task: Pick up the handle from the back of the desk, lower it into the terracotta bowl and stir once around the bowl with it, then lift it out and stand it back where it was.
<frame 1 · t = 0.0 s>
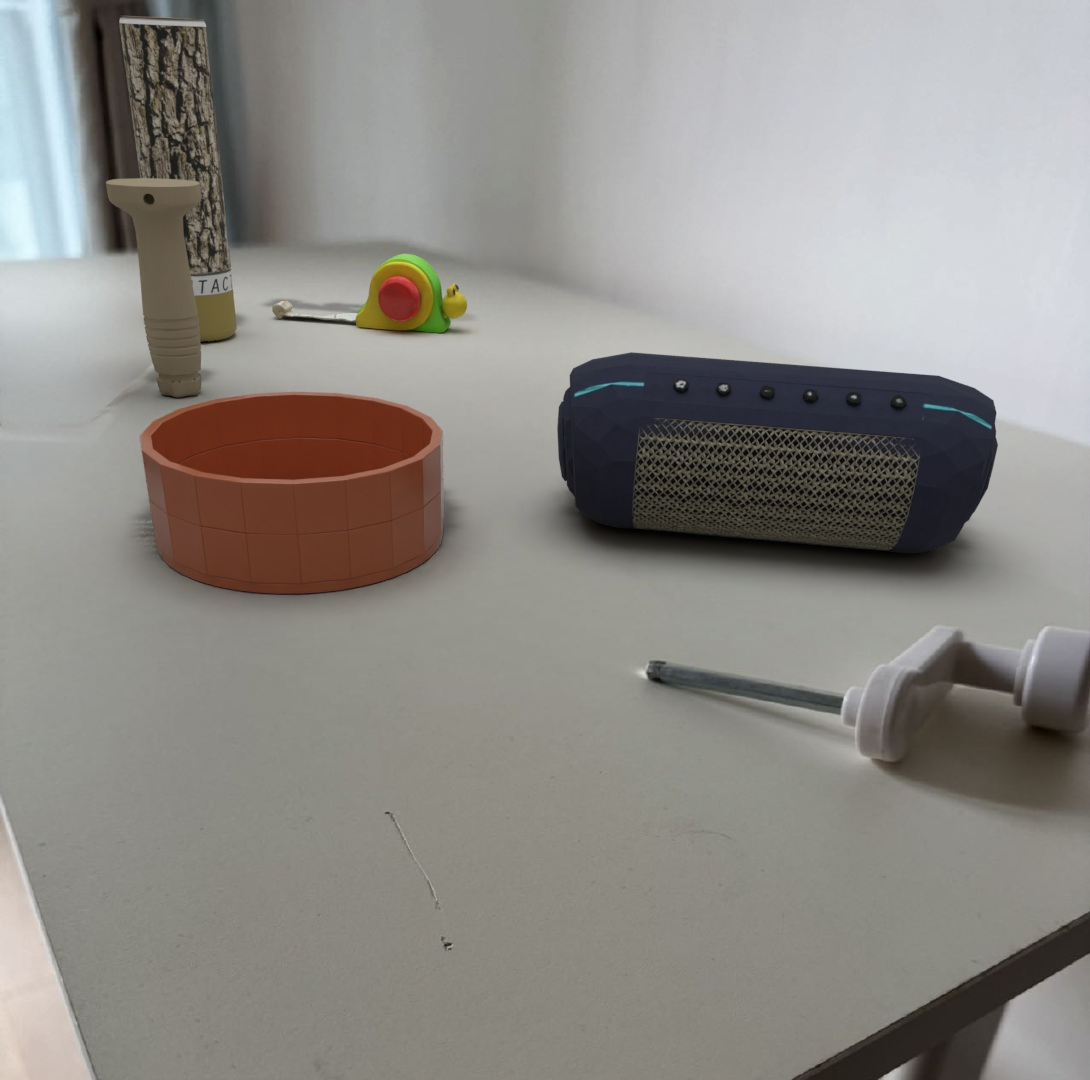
portable speaker: (757, 537, 68), on the table
toy measuring tape: (370, 326, 111), on the table
handle: (181, 395, 89), on the table
bowl: (302, 534, 65), on the table
paper tube: (200, 337, 105), on the table
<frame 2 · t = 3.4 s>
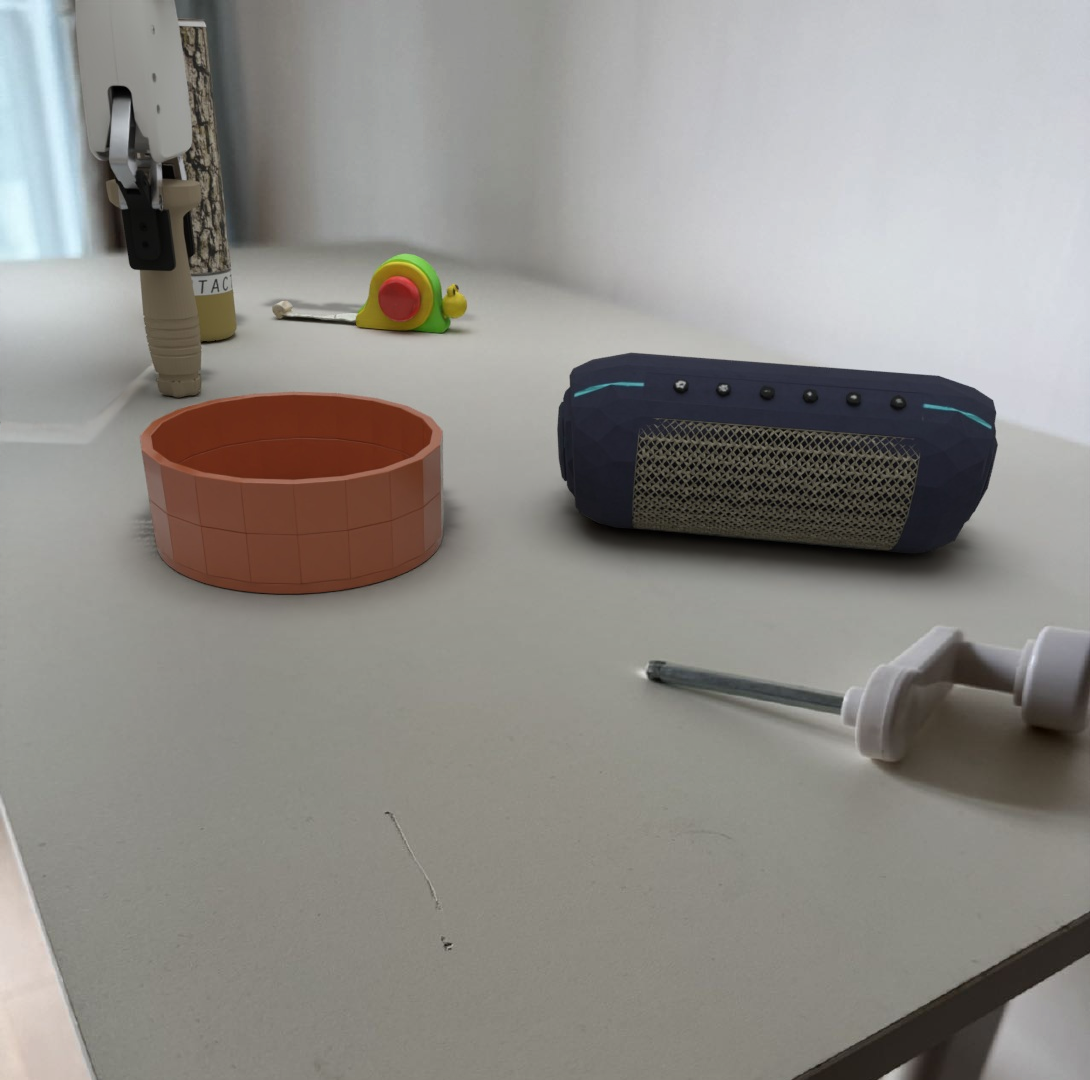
hand: (163, 259, 83), 10 cm above the table, tool pointing down, fingers closed on handle, 4 cm apart
handle: (181, 395, 89), on the table, touching gripper
everything else where it was.
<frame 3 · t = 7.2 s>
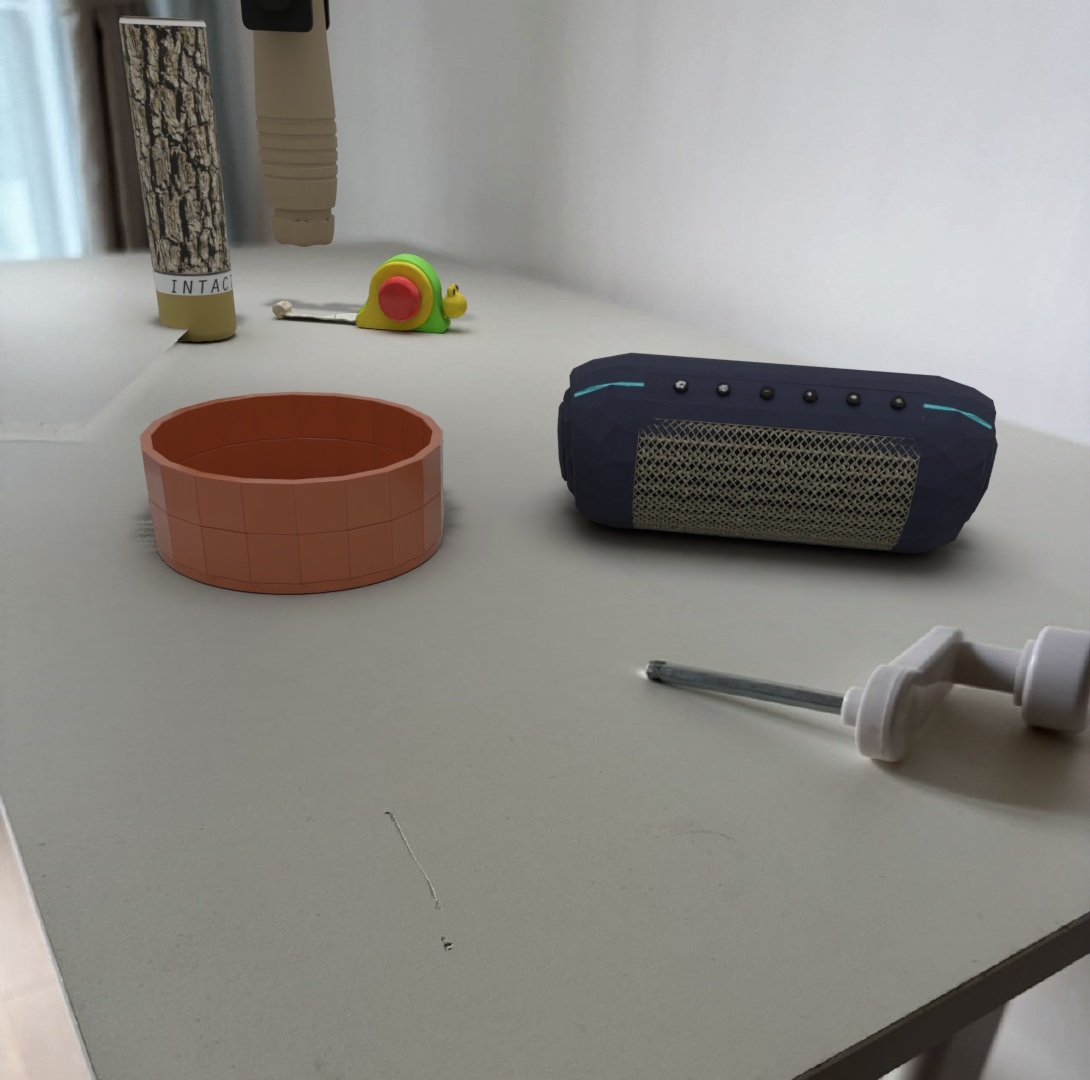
hand: (288, 26, 55), 25 cm above the table, tool pointing down, fingers closed on handle, 4 cm apart
handle: (305, 246, 60), point 15 cm above the table, touching gripper
everything else where it was.
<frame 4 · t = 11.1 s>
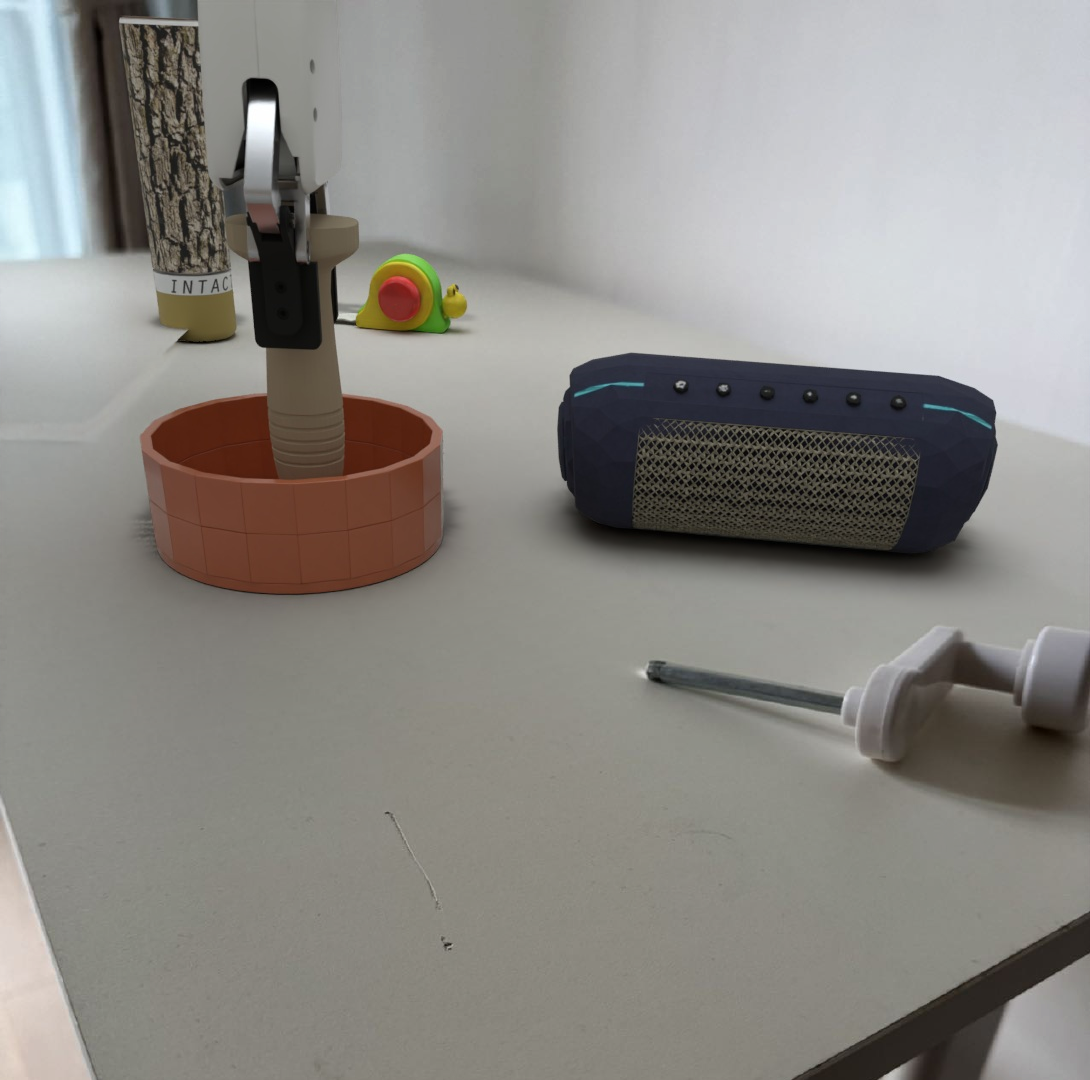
hand: (298, 329, 58), 12 cm above the table, tool pointing down, fingers closed on handle, 4 cm apart
handle: (313, 513, 63), point 2 cm above the table, touching gripper
everything else where it was.
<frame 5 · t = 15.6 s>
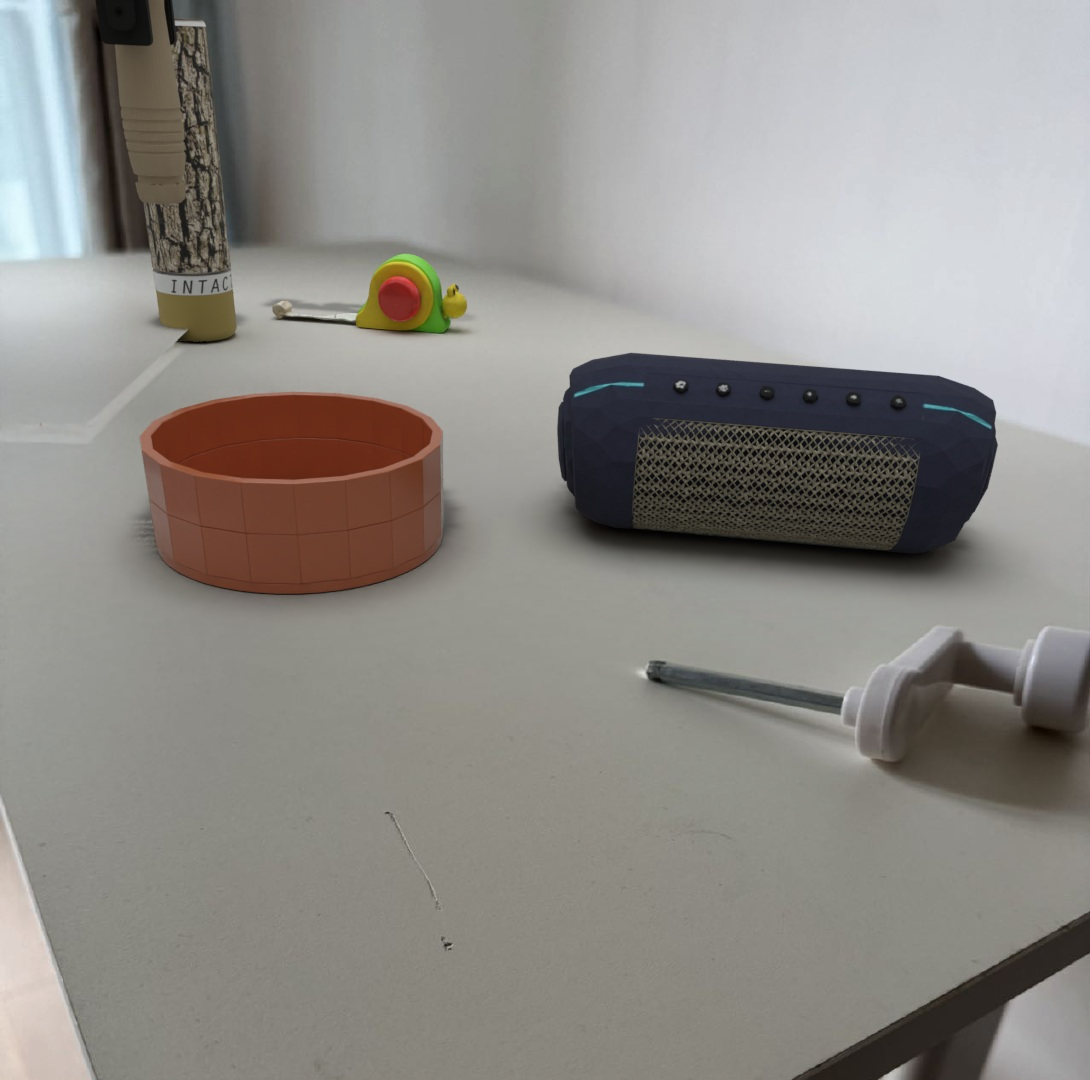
hand: (140, 40, 75), 24 cm above the table, tool pointing down, fingers closed on handle, 4 cm apart
handle: (163, 204, 80), point 14 cm above the table, touching gripper
everything else where it was.
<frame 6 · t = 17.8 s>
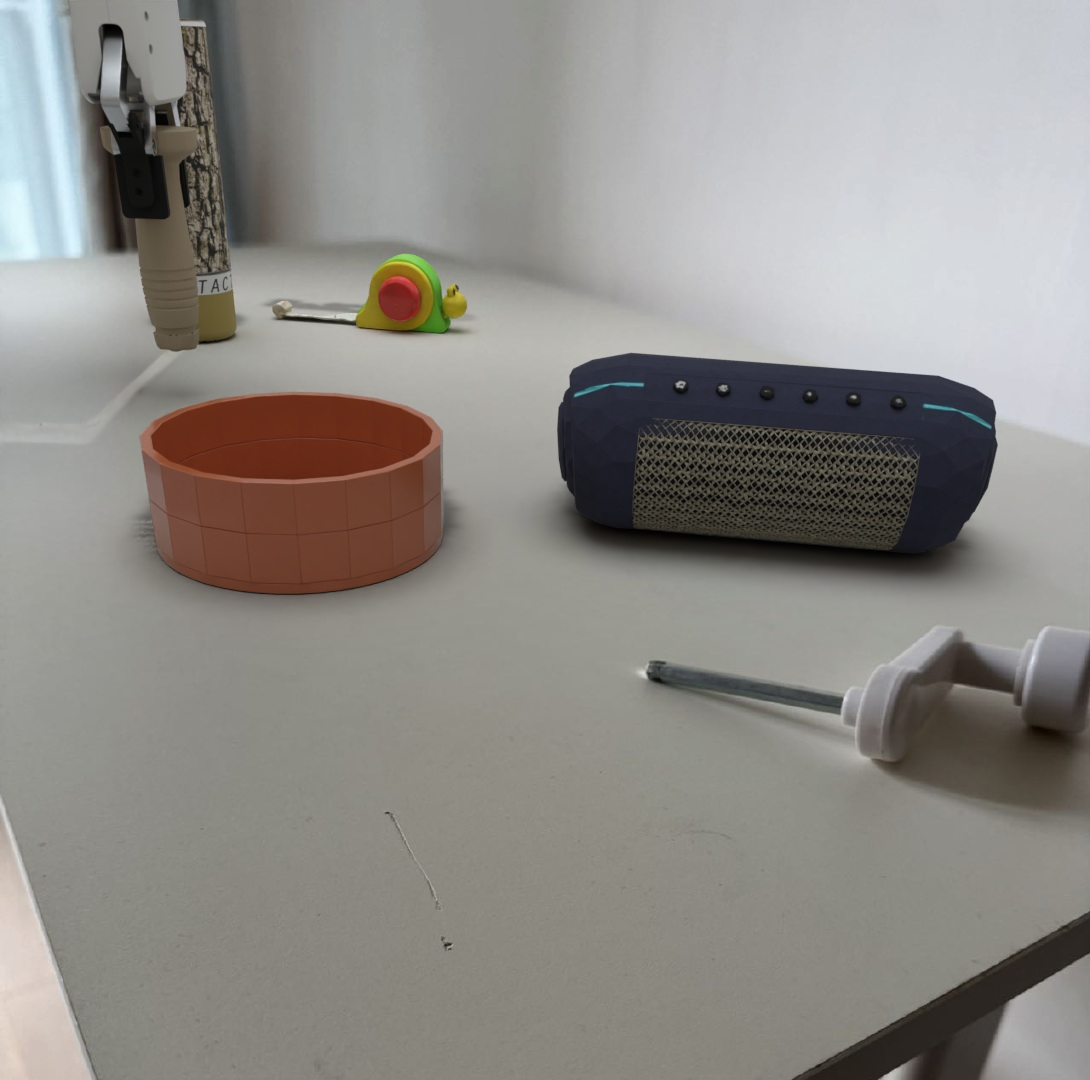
hand: (157, 209, 81), 13 cm above the table, tool pointing down, fingers closed on handle, 4 cm apart
handle: (178, 350, 87), point 3 cm above the table, touching gripper
everything else where it was.
when the fingers open (10 cm above the table, at t = 19.2 s): handle stays where it is, on the table.
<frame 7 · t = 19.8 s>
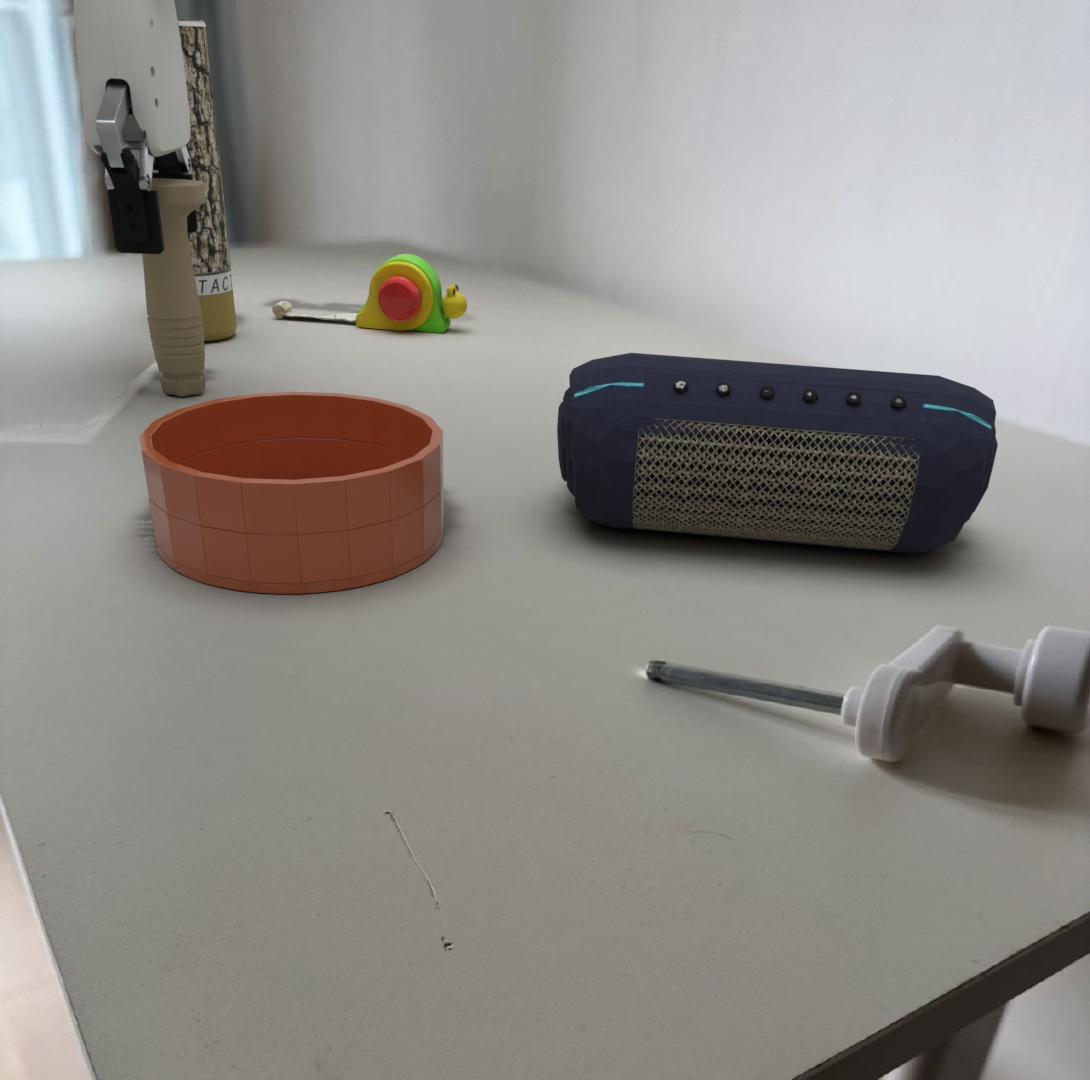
hand: (159, 241, 83), 11 cm above the table, tool pointing down, fingers open, 9 cm apart
handle: (185, 394, 89), on the table
everything else where it was.
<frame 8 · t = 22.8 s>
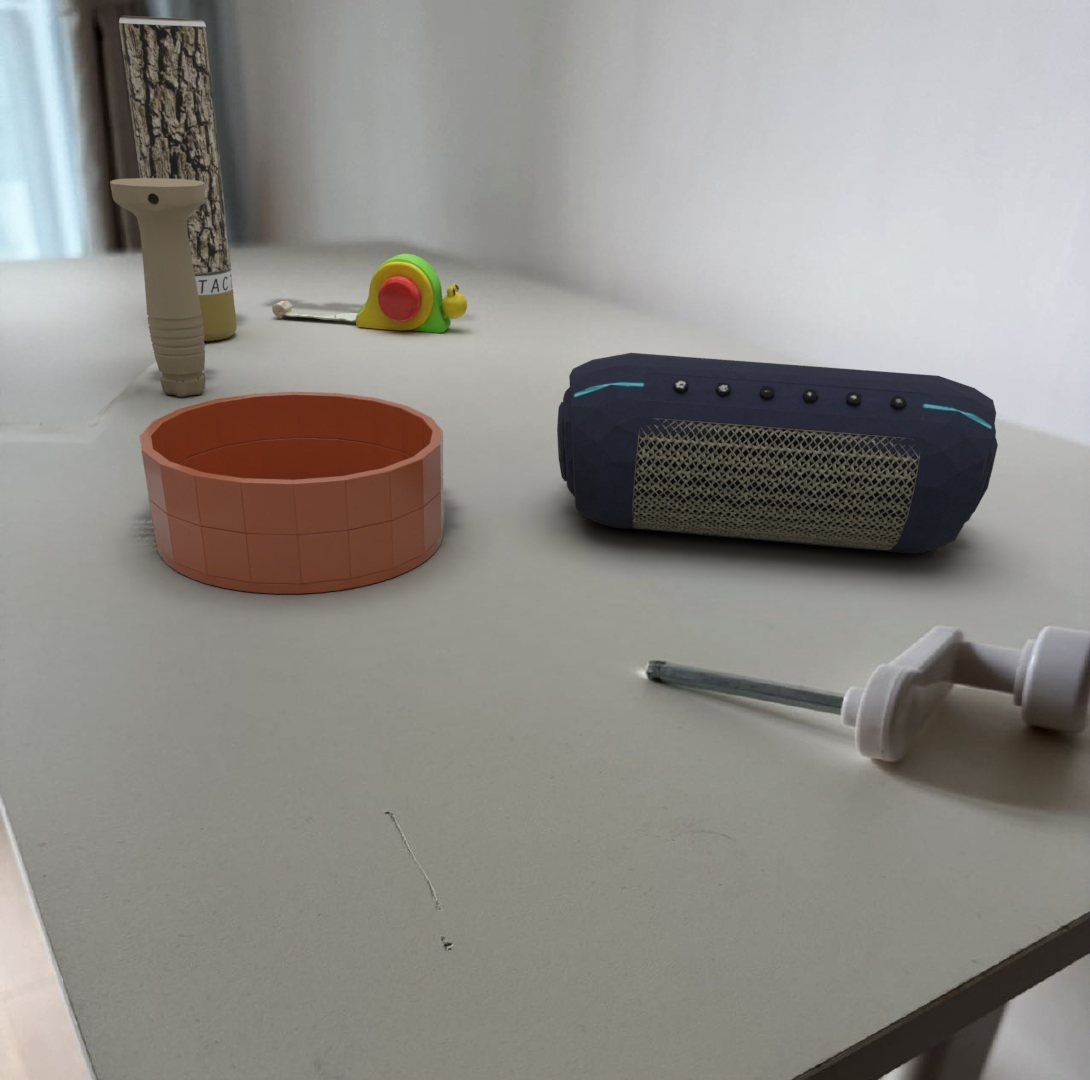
nothing on the table moved.
at the end: handle tilted 0°; the gripper is holding nothing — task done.
